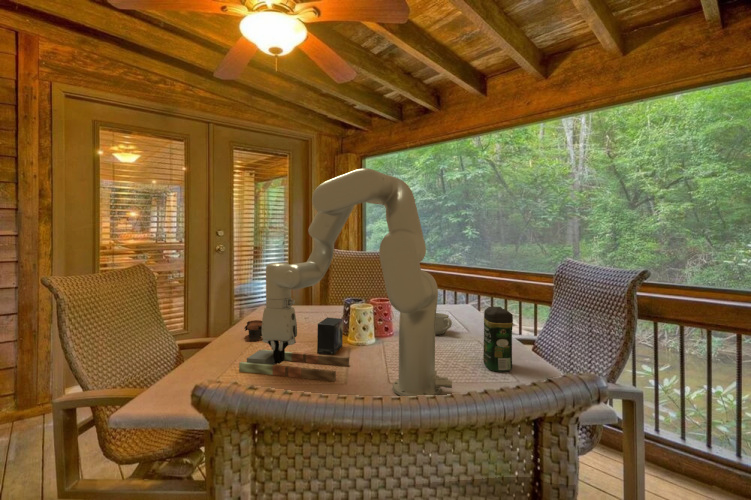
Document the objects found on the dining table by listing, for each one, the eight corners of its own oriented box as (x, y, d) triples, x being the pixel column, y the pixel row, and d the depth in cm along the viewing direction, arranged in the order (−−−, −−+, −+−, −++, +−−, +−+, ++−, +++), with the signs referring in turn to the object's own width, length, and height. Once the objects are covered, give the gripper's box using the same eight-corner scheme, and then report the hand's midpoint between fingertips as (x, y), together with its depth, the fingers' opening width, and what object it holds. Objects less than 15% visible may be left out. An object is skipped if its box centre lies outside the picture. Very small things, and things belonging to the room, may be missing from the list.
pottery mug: (237, 342, 143) (239, 321, 147) (253, 347, 151) (255, 327, 155) (263, 337, 139) (265, 316, 143) (278, 342, 147) (279, 322, 151)
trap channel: (349, 365, 118) (349, 357, 118) (334, 381, 105) (334, 372, 105) (263, 356, 125) (262, 349, 125) (239, 371, 112) (239, 363, 112)
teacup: (417, 331, 159) (417, 312, 158) (438, 328, 163) (439, 310, 163) (436, 340, 146) (436, 319, 146) (458, 336, 151) (459, 317, 150)
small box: (334, 355, 127) (334, 324, 127) (316, 354, 129) (316, 323, 128) (343, 346, 138) (343, 317, 137) (326, 345, 139) (326, 317, 138)
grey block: (277, 363, 120) (277, 351, 120) (265, 372, 112) (265, 359, 112) (259, 362, 121) (259, 350, 121) (246, 371, 113) (246, 358, 113)
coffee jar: (480, 361, 122) (481, 304, 121) (505, 362, 121) (506, 305, 121) (488, 372, 112) (489, 311, 111) (515, 373, 112) (516, 311, 111)
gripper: (306, 302, 117) (306, 360, 118) (263, 299, 121) (263, 356, 122) (295, 306, 110) (295, 368, 111) (250, 304, 114) (250, 364, 114)
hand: (279, 361), depth 116 cm, fingers closed
